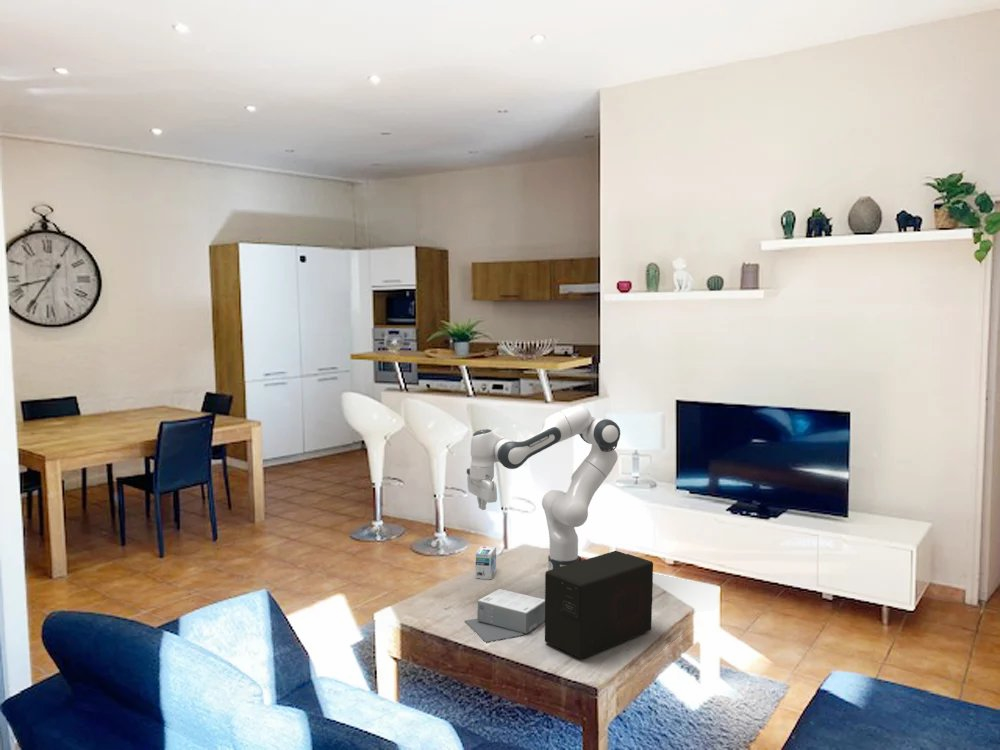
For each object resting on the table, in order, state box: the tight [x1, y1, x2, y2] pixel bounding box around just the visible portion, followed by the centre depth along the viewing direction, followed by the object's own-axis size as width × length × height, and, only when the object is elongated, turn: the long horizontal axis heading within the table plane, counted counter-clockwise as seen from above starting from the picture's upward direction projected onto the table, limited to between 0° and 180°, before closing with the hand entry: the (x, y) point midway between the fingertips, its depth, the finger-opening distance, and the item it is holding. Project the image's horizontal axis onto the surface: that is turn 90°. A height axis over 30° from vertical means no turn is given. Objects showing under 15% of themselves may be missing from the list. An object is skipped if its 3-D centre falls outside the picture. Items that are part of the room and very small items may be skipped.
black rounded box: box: [544, 550, 654, 660], centre depth 260 cm, size 38×20×25 cm, turn 130°
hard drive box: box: [476, 588, 545, 635], centre depth 273 cm, size 16×8×20 cm
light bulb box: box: [475, 545, 497, 580], centre depth 320 cm, size 11×7×11 cm, turn 168°
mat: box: [464, 618, 525, 643], centre depth 267 cm, size 14×19×1 cm
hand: (482, 508), depth 291 cm, fingers closed
